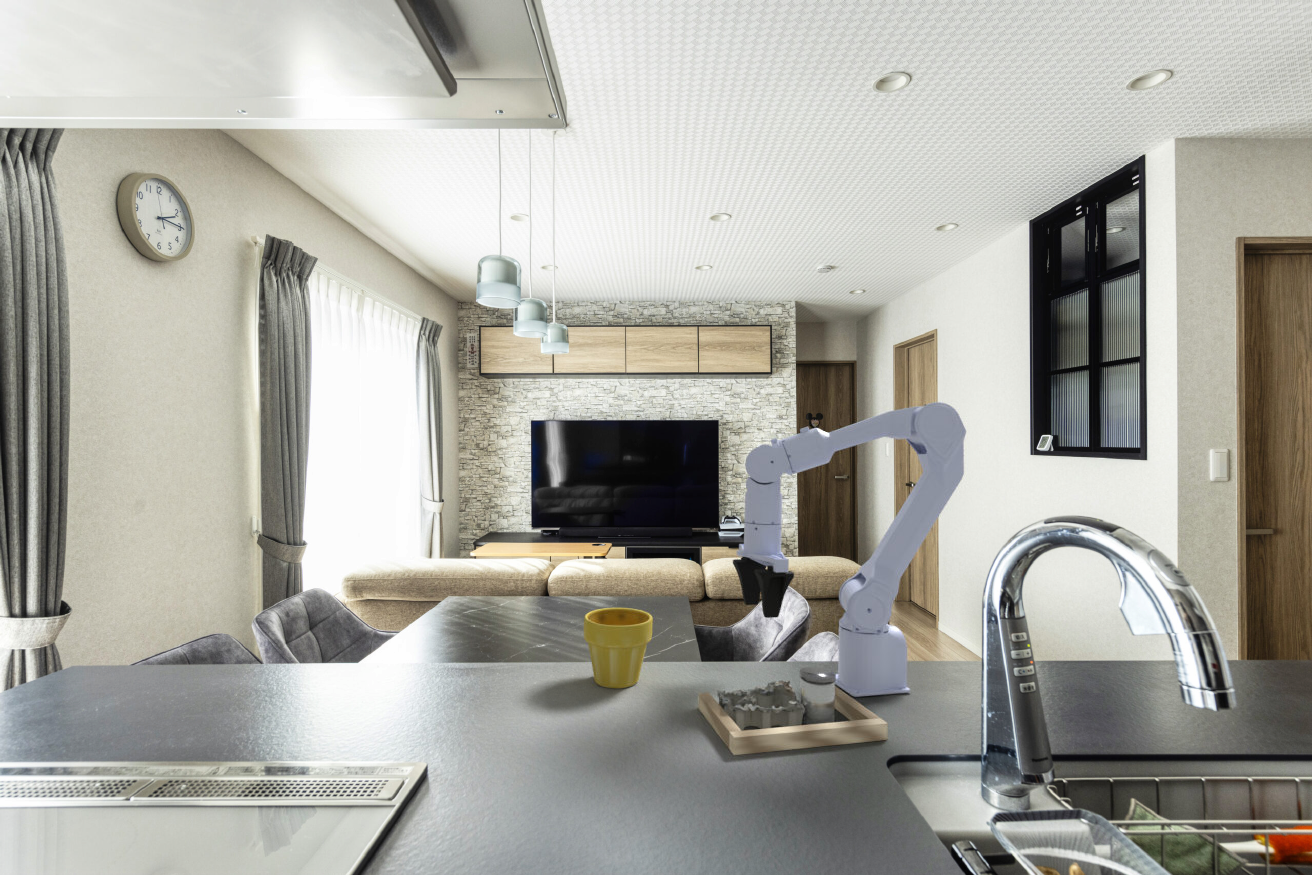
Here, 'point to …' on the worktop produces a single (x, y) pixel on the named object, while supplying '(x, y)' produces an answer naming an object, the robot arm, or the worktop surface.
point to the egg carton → (763, 706)
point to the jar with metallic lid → (817, 695)
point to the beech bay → (796, 728)
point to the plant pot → (617, 644)
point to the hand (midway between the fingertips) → (760, 610)
